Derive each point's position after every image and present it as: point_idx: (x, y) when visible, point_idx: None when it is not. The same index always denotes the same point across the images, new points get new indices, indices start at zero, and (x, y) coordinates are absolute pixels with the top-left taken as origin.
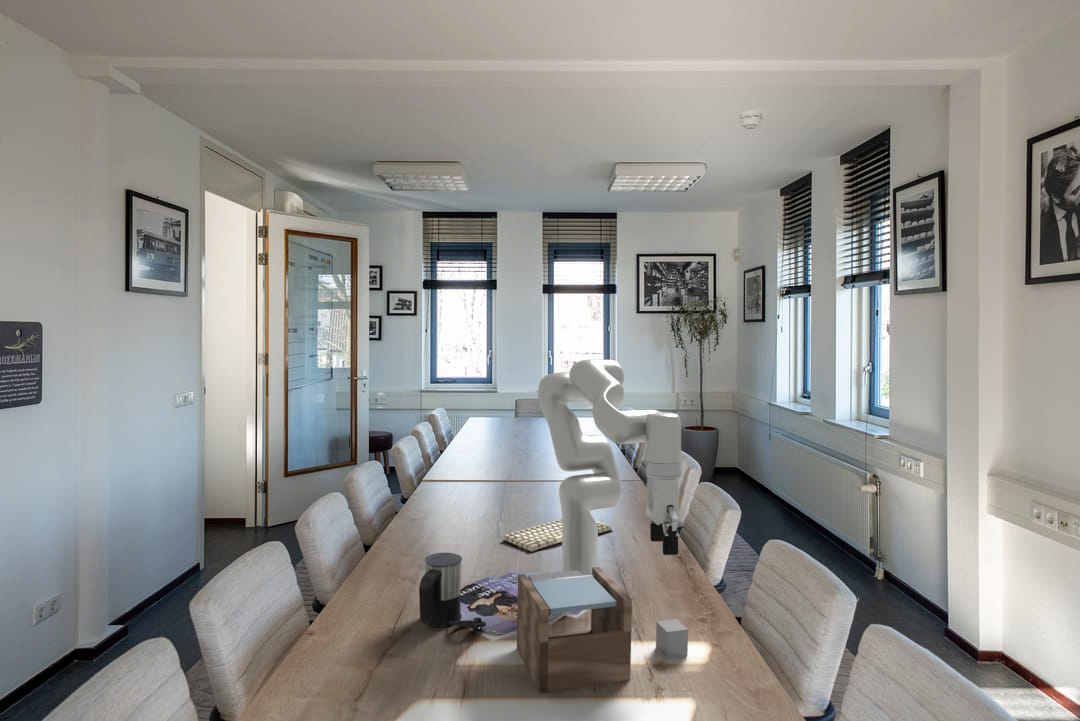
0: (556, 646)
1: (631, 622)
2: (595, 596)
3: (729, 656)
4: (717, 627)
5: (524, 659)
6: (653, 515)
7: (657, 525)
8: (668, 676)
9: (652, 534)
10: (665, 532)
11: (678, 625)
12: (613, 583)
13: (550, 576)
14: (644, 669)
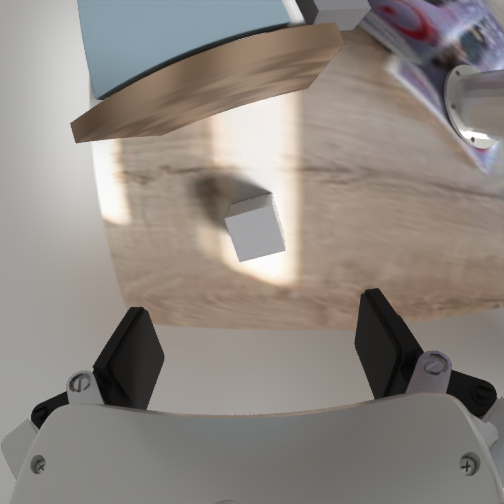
0: None
1: (110, 138)
2: (123, 40)
3: (247, 302)
4: (340, 308)
5: None
6: (123, 465)
7: (386, 377)
8: (177, 197)
9: (373, 316)
10: (68, 388)
11: (256, 247)
12: (178, 78)
13: None
14: (194, 161)
